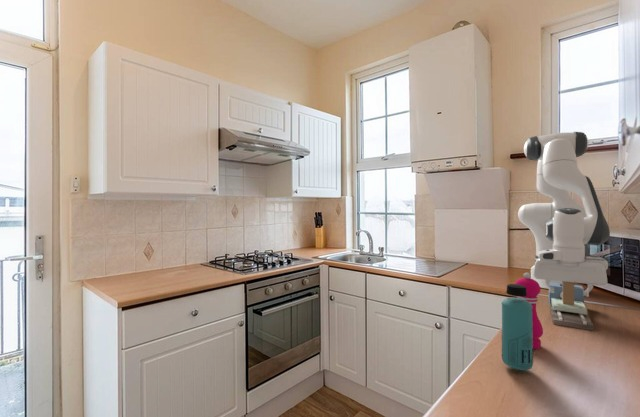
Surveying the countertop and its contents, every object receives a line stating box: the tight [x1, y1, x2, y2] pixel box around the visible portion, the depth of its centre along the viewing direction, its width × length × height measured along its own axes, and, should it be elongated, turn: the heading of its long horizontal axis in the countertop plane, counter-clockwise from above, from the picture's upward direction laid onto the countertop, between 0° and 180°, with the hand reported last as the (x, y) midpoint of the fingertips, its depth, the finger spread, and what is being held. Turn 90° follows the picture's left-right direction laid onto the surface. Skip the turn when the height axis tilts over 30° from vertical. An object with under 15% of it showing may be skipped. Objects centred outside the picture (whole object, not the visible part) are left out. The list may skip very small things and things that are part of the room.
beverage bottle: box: [500, 283, 535, 371], centre depth 75 cm, size 6×7×20 cm
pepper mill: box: [514, 272, 544, 350], centre depth 88 cm, size 7×7×20 cm
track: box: [549, 303, 595, 331], centre depth 108 cm, size 20×10×2 cm, turn 147°
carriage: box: [551, 281, 588, 314], centre depth 111 cm, size 10×9×10 cm
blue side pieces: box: [548, 283, 585, 306], centre depth 119 cm, size 6×10×8 cm, turn 57°
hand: (568, 294), depth 111 cm, fingers open, 8 cm apart
